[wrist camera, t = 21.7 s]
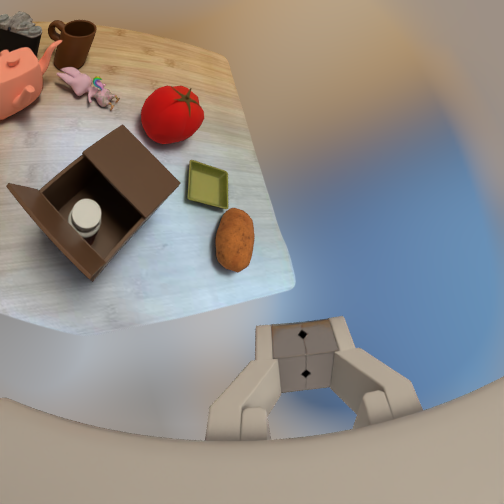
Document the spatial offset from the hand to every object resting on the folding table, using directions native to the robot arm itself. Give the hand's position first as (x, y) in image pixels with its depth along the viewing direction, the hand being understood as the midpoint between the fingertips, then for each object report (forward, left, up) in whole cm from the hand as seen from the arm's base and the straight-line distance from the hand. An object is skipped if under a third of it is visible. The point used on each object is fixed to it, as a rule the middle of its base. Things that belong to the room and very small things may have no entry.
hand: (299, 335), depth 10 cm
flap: (-1, +13, -21) cm, 24 cm away
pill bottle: (+4, +15, -36) cm, 39 cm away
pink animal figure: (+16, +42, -36) cm, 58 cm away
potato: (+28, +2, -36) cm, 46 cm away
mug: (+14, +55, -36) cm, 67 cm away
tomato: (+28, +28, -36) cm, 53 cm away
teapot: (+1, +45, -36) cm, 58 cm away
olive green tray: (+30, +13, -36) cm, 49 cm away
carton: (+8, +16, -36) cm, 40 cm away
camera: (+4, +63, -36) cm, 73 cm away
